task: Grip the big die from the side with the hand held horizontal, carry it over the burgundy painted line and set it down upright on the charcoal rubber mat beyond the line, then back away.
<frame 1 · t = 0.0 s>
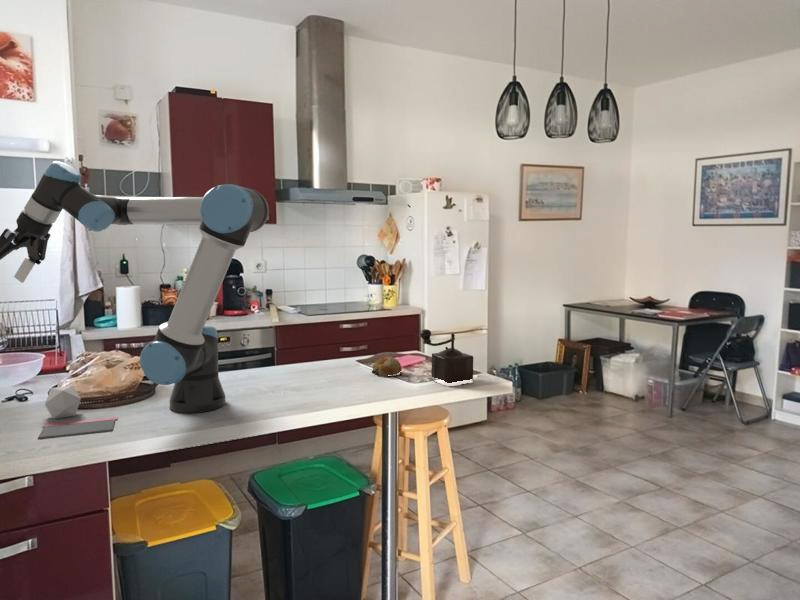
line: (81, 422, 151), on the countertop
mottled brown round lump: (386, 375, 205), on the countertop
manual coffee grinder: (445, 383, 194), on the countertop
mat: (78, 429, 145), on the countertop
die: (64, 416, 156), on the countertop
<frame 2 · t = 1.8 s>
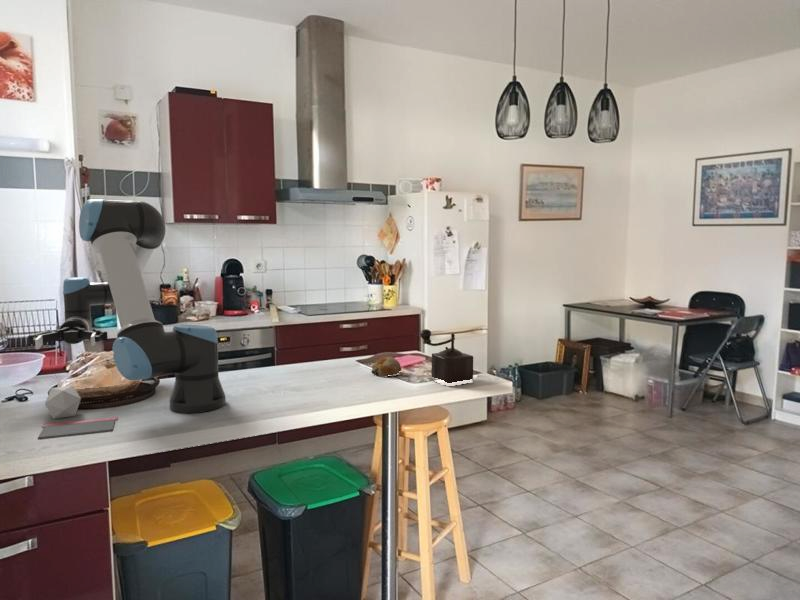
hand: (65, 342, 163), 18 cm above the countertop, tool horizontal, fingers open, 13 cm apart
nothing on the countertop moved.
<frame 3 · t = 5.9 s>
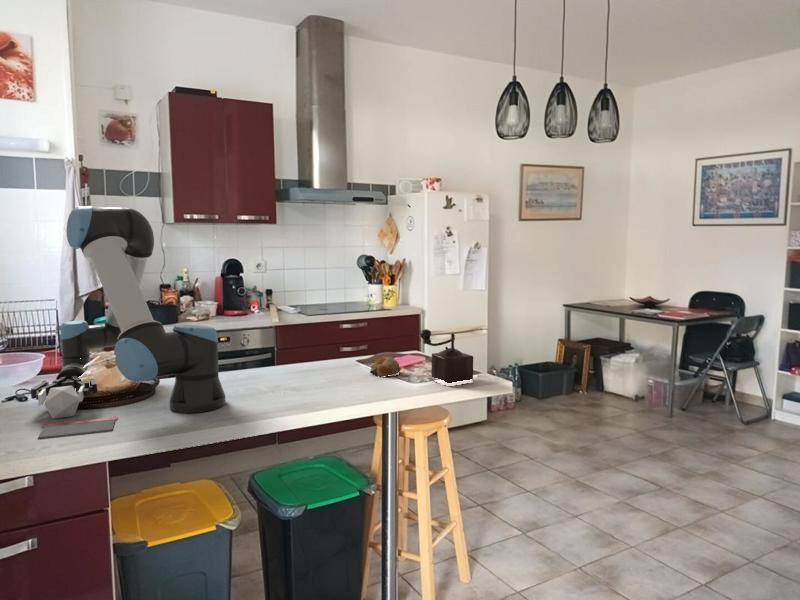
hand: (60, 398, 151), 6 cm above the countertop, tool horizontal, fingers open, 8 cm apart
die: (63, 416, 156), on the countertop, touching gripper
everything else where it was.
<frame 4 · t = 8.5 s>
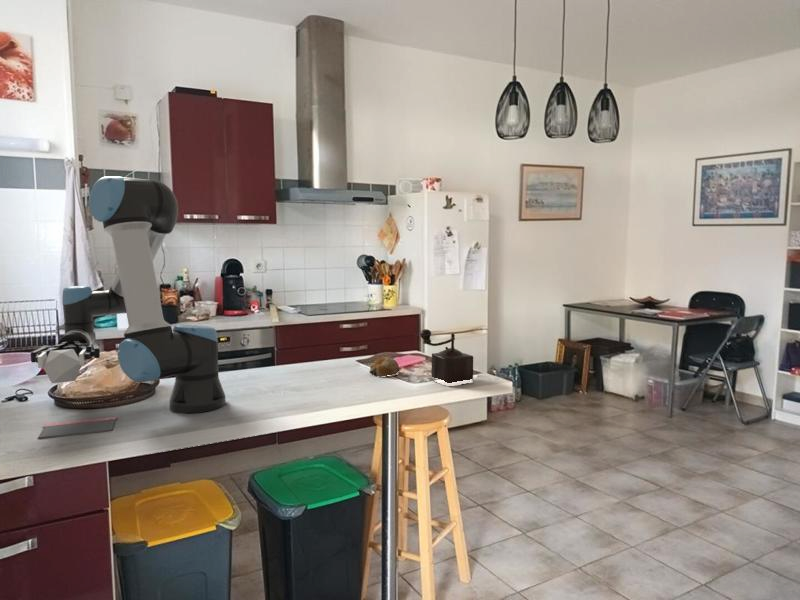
hand: (60, 360, 141), 18 cm above the countertop, tool horizontal, fingers closed on die, 8 cm apart
die: (63, 381, 146), point 12 cm above the countertop, touching gripper
everything else where it was.
when the fingers open (8 cm above the countertop, at t = 11.1 s): die drops 2 cm, resting on mat.
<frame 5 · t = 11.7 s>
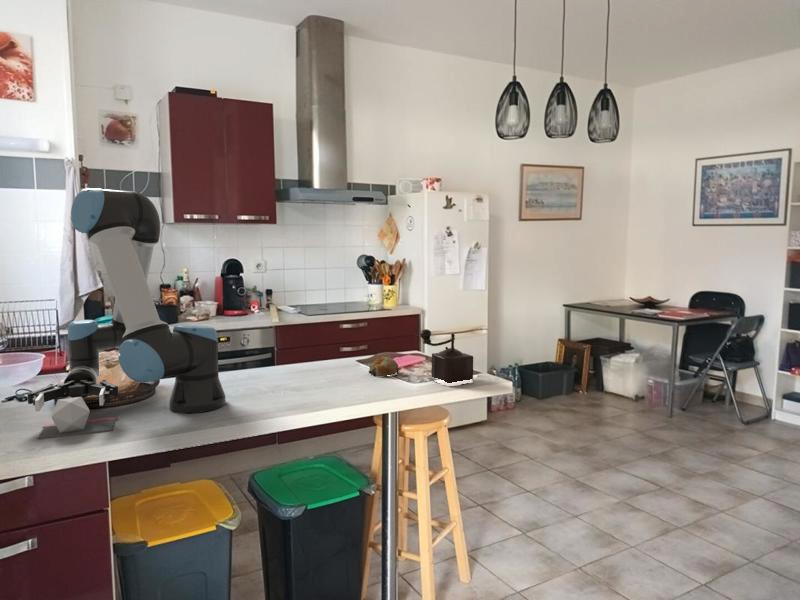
hand: (69, 403, 140), 8 cm above the countertop, tool horizontal, fingers open, 13 cm apart
die: (71, 430, 144), resting on mat
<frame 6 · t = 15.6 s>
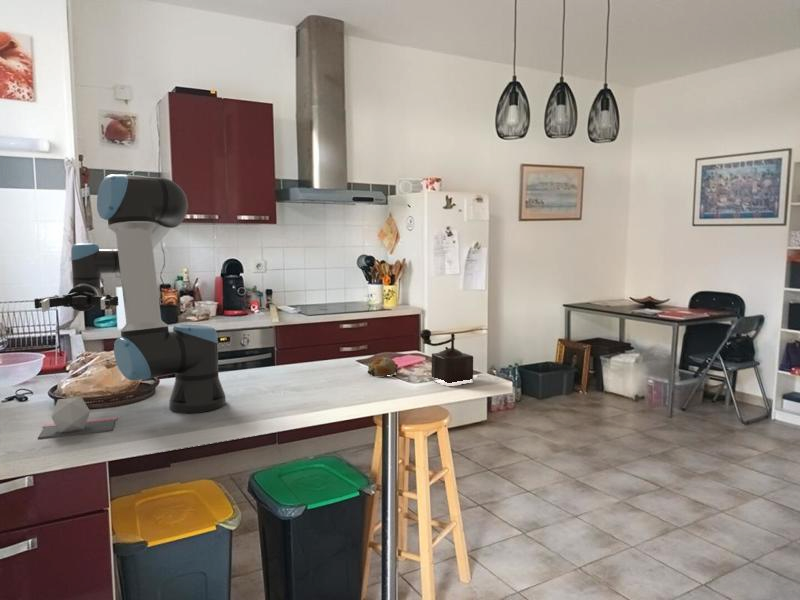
hand: (73, 305, 152), 30 cm above the countertop, tool horizontal, fingers open, 13 cm apart
at the end: die inside the target area (1.8 cm from its centre), resting on mat; die tilted 1°; the gripper is holding nothing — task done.
